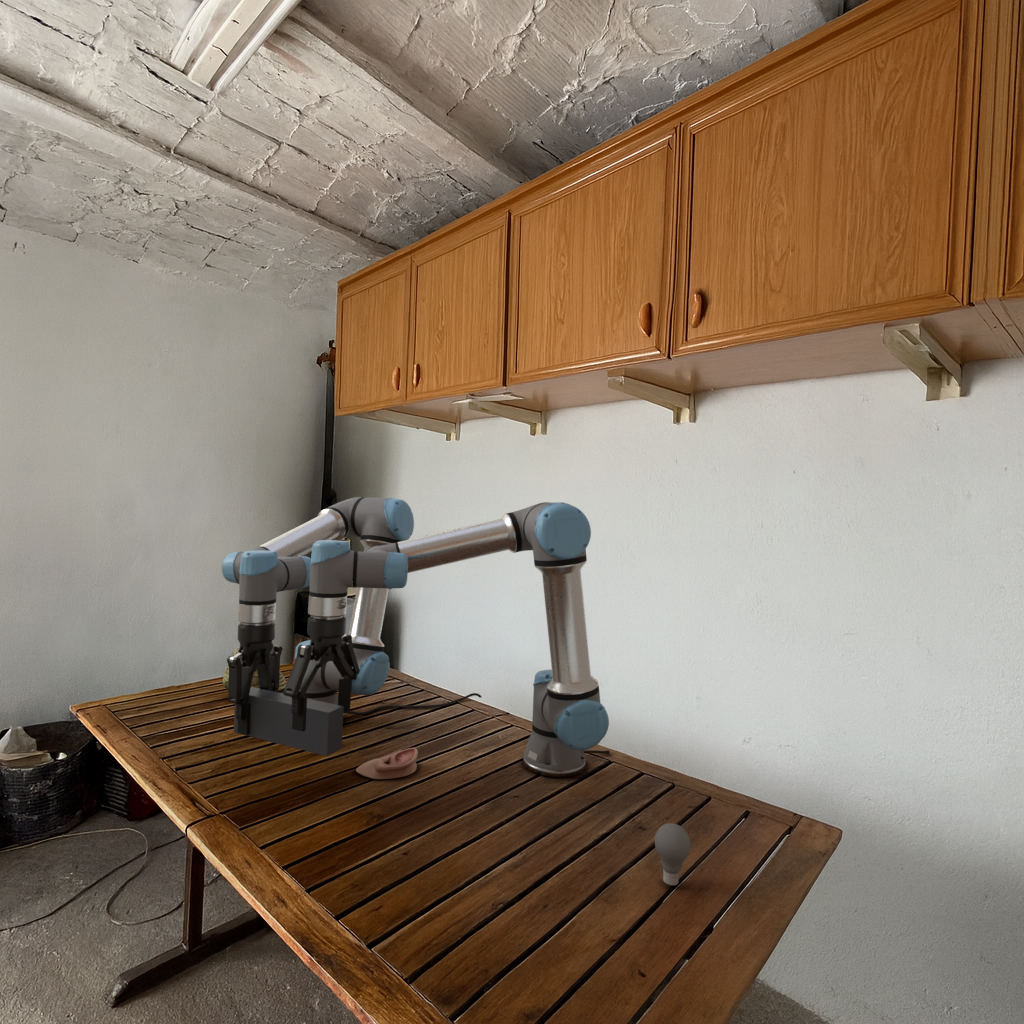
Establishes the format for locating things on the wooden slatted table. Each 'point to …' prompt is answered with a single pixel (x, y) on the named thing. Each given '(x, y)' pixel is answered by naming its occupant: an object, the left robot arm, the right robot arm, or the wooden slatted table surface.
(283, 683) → the fossil
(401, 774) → the anatomical model
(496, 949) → the wooden slatted table surface
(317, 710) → the bar
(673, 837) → the light bulb
